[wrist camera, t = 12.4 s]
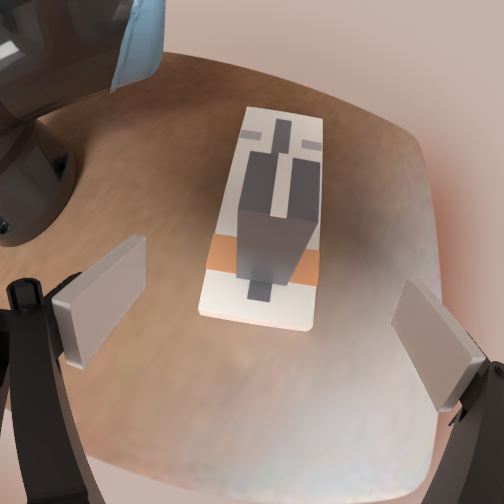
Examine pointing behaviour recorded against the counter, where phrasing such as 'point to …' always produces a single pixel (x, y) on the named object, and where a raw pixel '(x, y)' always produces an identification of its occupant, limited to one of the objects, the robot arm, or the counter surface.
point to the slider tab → (275, 216)
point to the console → (225, 238)
